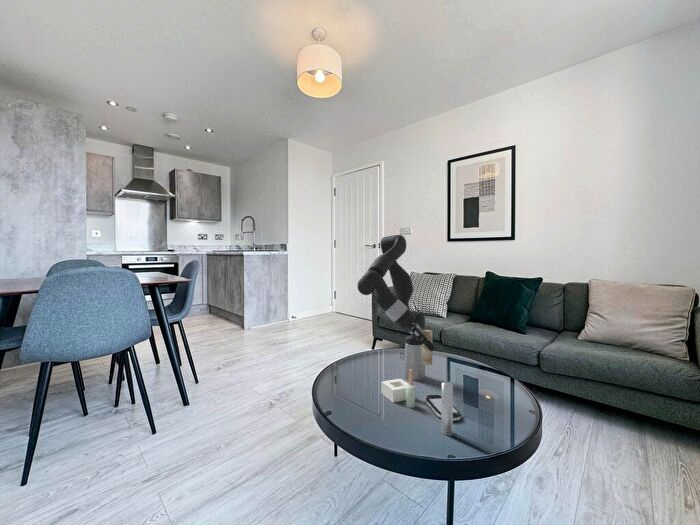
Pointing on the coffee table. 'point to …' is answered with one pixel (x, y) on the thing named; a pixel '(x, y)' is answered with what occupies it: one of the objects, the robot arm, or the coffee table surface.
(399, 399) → the socket block
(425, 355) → the birch pin
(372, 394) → the coffee table surface
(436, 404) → the gaming console
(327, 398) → the coffee table surface
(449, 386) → the aluminium pin
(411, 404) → the sage pin
